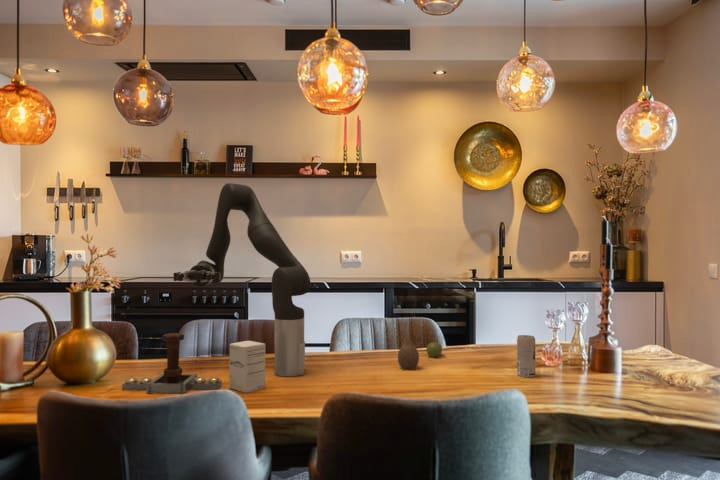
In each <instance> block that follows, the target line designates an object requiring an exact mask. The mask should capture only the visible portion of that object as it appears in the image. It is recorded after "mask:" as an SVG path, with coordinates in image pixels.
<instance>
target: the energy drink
mask: <svg viewBox="0 0 720 480" xmlns="http://www.w3.org/2000/svg"><path fill="white" fill-rule="evenodd" d="M516 369H517V370H516V372H517V373H516V374H517V376H519V377H521V378H530V379H531V378H534V377H535V376H536V338H535V336H534V335H530V334H529V335H528V334H521V335H517V338H516Z"/></svg>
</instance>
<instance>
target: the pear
mask: <svg viewBox="0 0 720 480" xmlns="http://www.w3.org/2000/svg"><path fill="white" fill-rule="evenodd" d="M425 351H426V354H427V355H428V356H429V357H430V356H431V357H430V358H433V357H435V358H438V357H440V356H441V354H442V351H443V347H442V344H440V343H438V342H429V343H428V345H426V350H425Z"/></svg>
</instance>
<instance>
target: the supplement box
mask: <svg viewBox="0 0 720 480" xmlns="http://www.w3.org/2000/svg"><path fill="white" fill-rule="evenodd" d="M228 359H229V362H228V363H229V367H228V370H229V372H228V374H229V375H228V376H229V377H228V378H229V379H228V380H229V382H228V383H229V384H228V387H229V389H230V390H231V389H232V390H236V391H239V392H242V393H244V394H247V393H250V392H251V393H252V392H255V391H258V390H262V389H265V388H266V343H264V342H259V341H254V340H244V341H237V342H233V343H229V358H228Z"/></svg>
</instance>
